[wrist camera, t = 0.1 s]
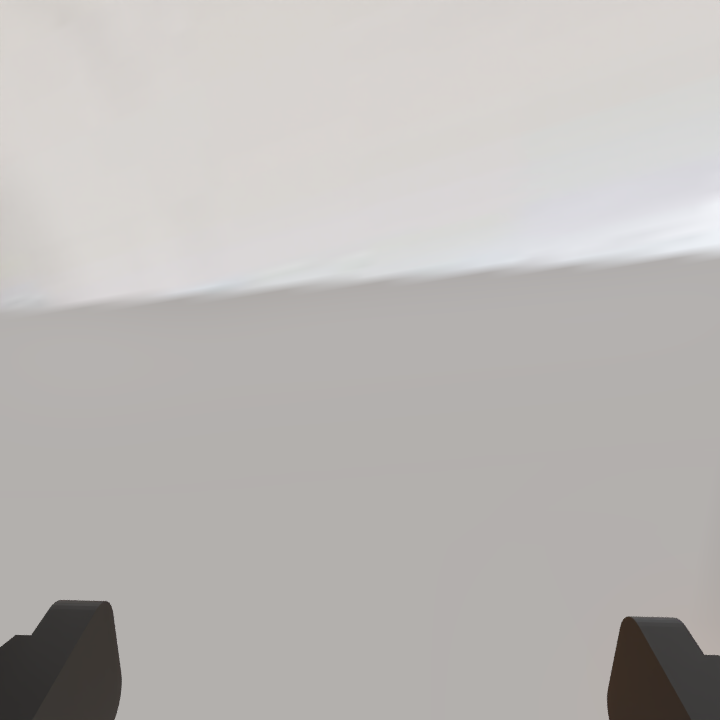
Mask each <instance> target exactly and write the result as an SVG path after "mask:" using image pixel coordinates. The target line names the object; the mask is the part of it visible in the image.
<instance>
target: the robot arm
mask: <svg viewBox="0 0 720 720" xmlns="http://www.w3.org/2000/svg"><path fill="white" fill-rule="evenodd" d="M121 685H122V677H121V668H120V661H119V653H118V646H117V639H116V631H115V624H114V616H113V610H112V607H111V605H110V603H109V602H107V601H77V600H59V601H57V602H55V603H54V604H53V605H52V606H51V607H50V609H49V610H48V612H47V613H46V614H45V616H44V618H43V619H42V620H41V622H40V623H39V625H38V626H37V628H36V629H35V631H34V632H33V633H32V635H15V636H14V637H13V638H11V639H10V640H9V641H8V642H6V643H5V644H4V645H3V646H1V647H0V720H114V719H115V716H116V713H117V709H118V706H119V701H120V695H121ZM607 706H608V715H609V720H720V656H718V655H704V654H703V652H702V651H701V649H700V648H699V646H698V645H697V643H696V642H695V640H694V639H693V637H692V635H691V634H690V632H689V631H688V630H687V628H686V626H685V625H684V624H683V623H682V622H681V621H680V620H678V619H677V618H668V617H667V618H666V617H665V618H664V617H626V618H624V619H623V621H622V623H621V627H620V632H619V636H618V641H617V647H616V651H615V656H614V662H613V666H612V672H611V676H610V682H609V687H608V693H607Z"/></svg>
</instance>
